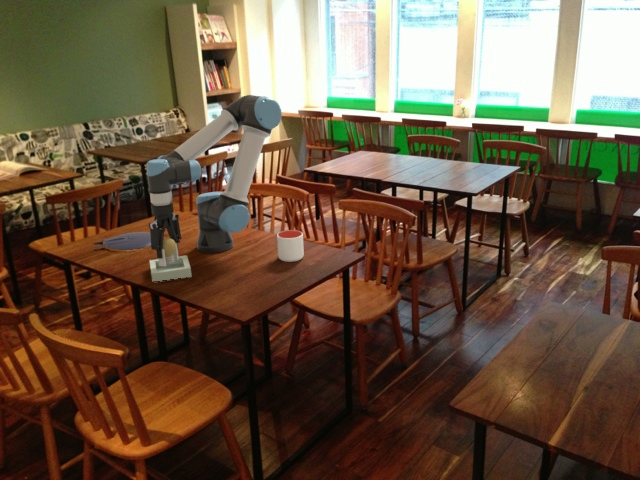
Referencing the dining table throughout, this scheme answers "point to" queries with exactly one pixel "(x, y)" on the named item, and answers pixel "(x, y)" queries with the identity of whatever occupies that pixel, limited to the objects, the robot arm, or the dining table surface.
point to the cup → (290, 245)
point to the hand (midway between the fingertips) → (169, 262)
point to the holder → (170, 269)
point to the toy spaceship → (128, 241)
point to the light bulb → (169, 250)
